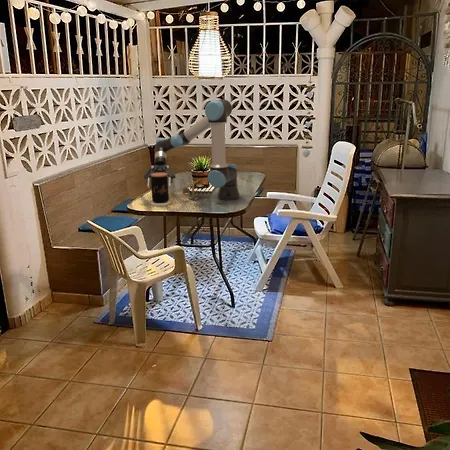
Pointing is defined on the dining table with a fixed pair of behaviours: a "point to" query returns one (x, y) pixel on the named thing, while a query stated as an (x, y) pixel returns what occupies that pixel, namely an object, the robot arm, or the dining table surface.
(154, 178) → the coffee jar
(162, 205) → the dish
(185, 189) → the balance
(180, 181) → the dining table surface
